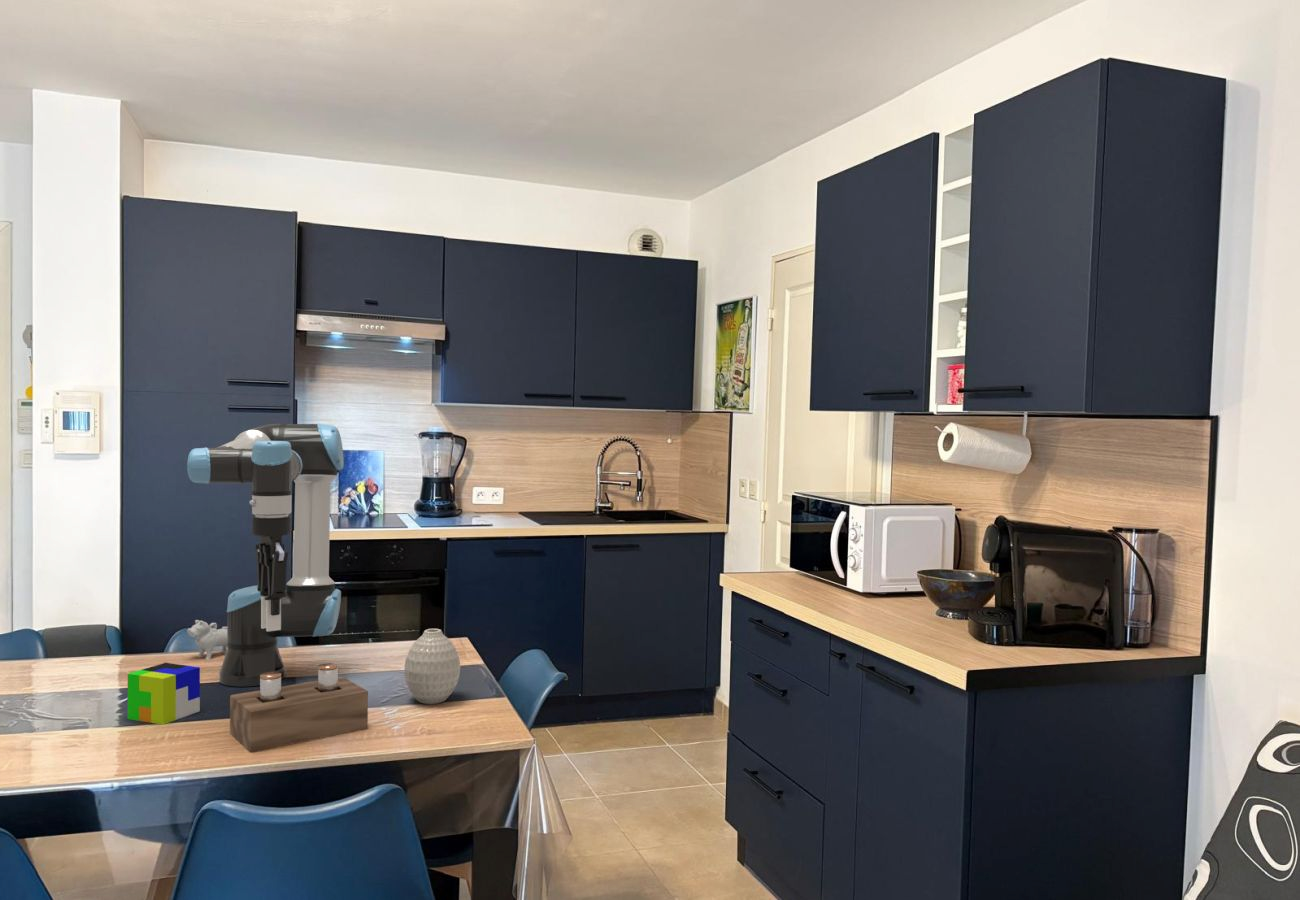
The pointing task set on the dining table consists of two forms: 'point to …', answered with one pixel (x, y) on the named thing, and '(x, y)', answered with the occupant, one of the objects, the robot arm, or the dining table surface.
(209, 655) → the dog figurine
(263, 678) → the peg
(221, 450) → the robot arm
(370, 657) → the dining table surface
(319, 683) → the peg
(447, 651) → the vase
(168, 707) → the puzzle toy
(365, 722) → the socket block
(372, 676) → the dining table surface
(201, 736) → the dining table surface
